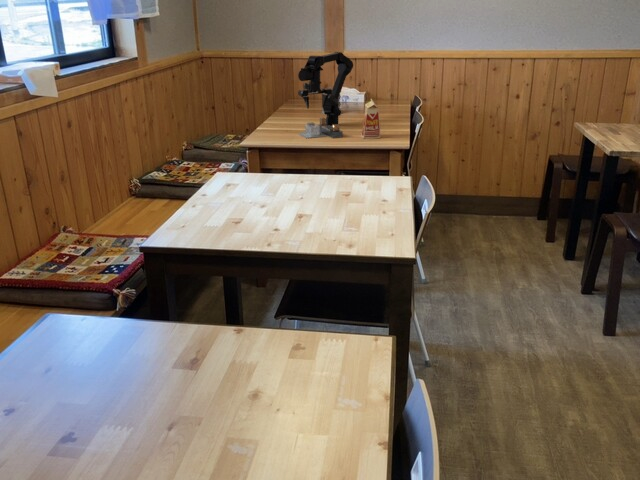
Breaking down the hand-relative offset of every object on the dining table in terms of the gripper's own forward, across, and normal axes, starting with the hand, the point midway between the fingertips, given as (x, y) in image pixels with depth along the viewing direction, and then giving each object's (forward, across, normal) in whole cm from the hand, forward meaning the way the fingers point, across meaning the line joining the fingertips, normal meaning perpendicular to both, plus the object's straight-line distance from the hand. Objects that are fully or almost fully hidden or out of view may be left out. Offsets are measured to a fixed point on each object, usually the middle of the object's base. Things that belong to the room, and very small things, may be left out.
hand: (315, 107), depth 325 cm
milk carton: (+12, -19, +31) cm, 38 cm away
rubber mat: (+12, +8, +14) cm, 20 cm away
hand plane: (+12, -2, +14) cm, 19 cm away
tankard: (+12, -31, -45) cm, 56 cm away
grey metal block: (+12, +8, +14) cm, 20 cm away
